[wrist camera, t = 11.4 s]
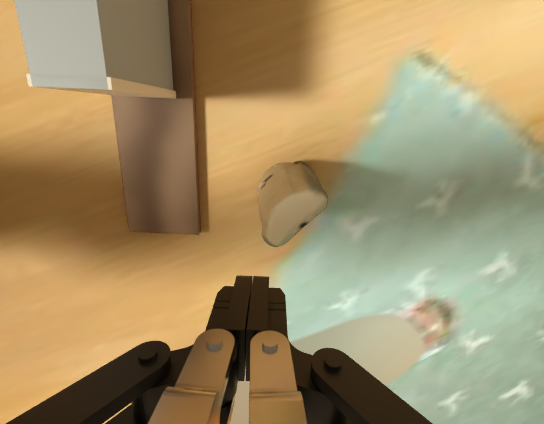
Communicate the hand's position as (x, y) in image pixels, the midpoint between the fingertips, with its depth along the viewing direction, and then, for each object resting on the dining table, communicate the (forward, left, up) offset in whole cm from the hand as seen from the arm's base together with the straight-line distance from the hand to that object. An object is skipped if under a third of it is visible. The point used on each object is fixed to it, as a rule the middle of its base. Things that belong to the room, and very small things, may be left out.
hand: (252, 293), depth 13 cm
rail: (-10, +8, -16) cm, 20 cm away
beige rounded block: (+2, +1, -16) cm, 16 cm away
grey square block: (-10, +14, -15) cm, 23 cm away
